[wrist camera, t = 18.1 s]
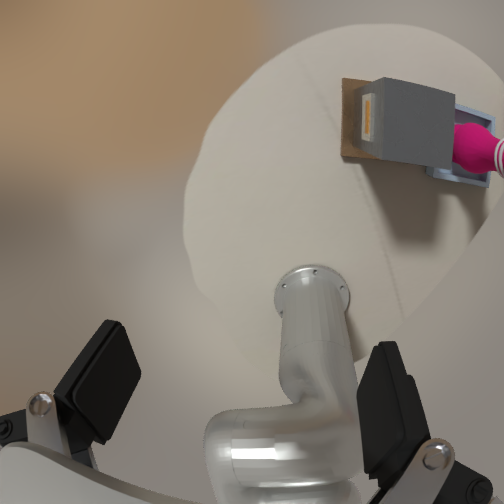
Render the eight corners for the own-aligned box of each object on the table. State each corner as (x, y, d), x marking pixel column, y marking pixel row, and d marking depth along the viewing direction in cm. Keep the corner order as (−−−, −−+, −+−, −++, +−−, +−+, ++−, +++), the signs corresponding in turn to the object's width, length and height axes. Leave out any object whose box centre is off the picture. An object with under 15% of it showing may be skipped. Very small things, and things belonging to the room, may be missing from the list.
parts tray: (480, 183, 34) (488, 187, 32) (425, 173, 36) (432, 177, 34) (486, 116, 29) (495, 117, 27) (430, 99, 31) (438, 98, 28)
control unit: (411, 162, 36) (459, 186, 23) (340, 154, 37) (365, 173, 24) (414, 90, 31) (466, 84, 18) (341, 78, 32) (368, 59, 20)
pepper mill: (482, 146, 31) (570, 178, 14) (458, 176, 34) (543, 223, 17) (457, 111, 30) (550, 123, 12) (432, 141, 33) (522, 170, 15)
